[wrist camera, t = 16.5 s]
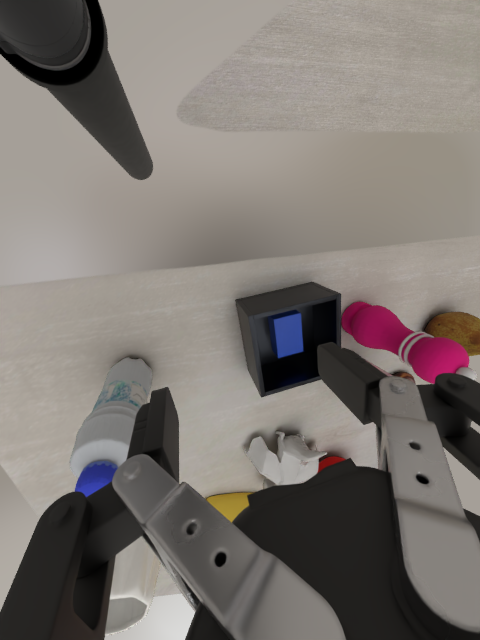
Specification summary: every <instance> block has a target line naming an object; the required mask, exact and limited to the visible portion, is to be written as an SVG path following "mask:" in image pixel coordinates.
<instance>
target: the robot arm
mask: <svg viewBox="0 0 480 640" xmlns="http://www.w3.org/2000/svg"><path fill="white" fill-rule="evenodd" d="M90 39H91V21H90V15H89V11H88V7H87V4H86V1H85V0H0V47H1V48H2V49H3V50H4V51H5V52H6V53H7V54H18V55H20V56H21V57H22V58H24V59H25V60H27V61H28V62H30V63H32V64H34V65H36V66H38V67H41V68H44V69H48V70H54V71H60V70H66V69H69V68H72V67H74V66H75V65H77V64H78V63H79V62H80V61H81V60H82V59H83V57H84V56H85V54H86V52H87V50H88V48H89V44H90ZM317 356H318V372H319V375H320V377H321V379H322V380H323V382H324V383H325V384H326V385H327V386H328V387H329V388H330V389H331V390H332V391H333V392H334V393H335V395H336V396H337V397H338V398H339V399H340V400H341V401H342V402H343V403H344V404H345V405H346V406H347V407H348V408H349V410H350V411H351V412H352V413H353V414H354V415H355V416H356V417H357V418H358V419H359V420H360V421H361V422H362V424H363V425H365V424H368V423H371V422H374V423H375V424H376V440H377V455H378V469H376V468H371V467H362V466H356V465H355V464H354V462H353V461H352V460H351V458H349V459H346V460H343V461H341V462H338V463H335V464H332V465H329V466H327V467H325V468H324V469H322V470H321V471H320V472H318V473H317V474H316V475H314V476H313V477H312V478H310V479H309V480H308V481H306V482H305V483H301V484H289V485H276V486H271V487H269V488H266V489H263V490H260V491H258V492H255V493H252V494H249V495H247V498H248V502H249V506H247V507H246V508H245V509H243V510H242V511H241V512H240V513H239V514H238V515H237V517H236V518H235V519H234V520H233V521H232V522H230V521H229V520H228V519H227V518H226V517H225V516H224V515H222V514H221V513H220V512H219V511H218V510H217V509H216V508H215V507H213V506H212V505H211V504H210V503H209V502H208V501H207V500H206V499H204V498H203V497H202V496H201V495H200V494H199V493H198V492H197V491H195V490H194V489H193V488H192V487H191V486H190V485H189V484H187V483H186V482H182V483H181V484H179V420H178V415H177V411H176V408H175V405H174V402H173V399H172V396H171V393H170V391H169V388H168V387H165V388H162V389H158V390H154V391H152V393H151V399H150V403H147V404H143V405H142V406H141V408H140V409H139V411H138V412H137V414H136V418H135V424H134V427H133V432H132V436H131V441H130V445H129V450H128V455H127V459H126V461H125V462H123V463H122V464H121V465H120V466H119V468H118V469H117V470H116V472H115V474H114V476H113V479H112V481H111V482H110V483H108V484H107V485H105V486H104V487H102V488H101V489H99V490H97V491H96V492H94V493H92V494H91V495H89V496H87V497H86V496H85V495H84V494H83V493H82V492H78V491H76V492H71V493H68V494H66V495H64V496H62V497H61V498H59V499H58V500H56V501H55V502H54V503H53V504H52V505H51V506H49V507H48V509H47V510H46V511H45V512H44V513H43V515H42V516H41V518H40V519H39V522H38V524H37V526H36V528H35V531H34V533H33V535H32V538H31V540H30V542H29V545H28V547H27V550H26V552H25V554H24V557H23V559H22V562H21V564H20V566H19V569H18V571H17V573H16V576H15V578H14V581H13V583H12V585H11V588H10V590H9V592H8V595H7V597H6V600H5V602H4V605H3V607H2V609H1V612H0V640H104V637H105V630H106V623H107V616H108V608H109V601H110V594H111V587H112V580H113V572H114V565H115V558H116V555H117V554H118V553H119V552H121V551H122V550H123V549H125V548H126V547H127V546H129V545H130V544H131V543H133V542H134V541H135V540H137V539H138V538H140V537H142V538H143V539H144V541H145V542H146V543H147V545H148V546H149V547H150V549H151V550H152V552H153V553H154V554H155V556H156V557H157V558H158V560H159V561H160V562H161V564H162V565H163V566H164V568H165V569H166V571H167V572H168V573H169V575H170V576H171V578H172V579H173V581H174V582H175V584H176V586H177V587H178V589H179V590H180V591H181V593H182V594H183V596H184V597H185V598H186V600H187V601H188V603H189V604H190V605H191V607H192V608H193V610H194V611H195V615H194V618H193V620H192V623H191V625H190V628H189V631H188V633H187V636H186V639H185V640H480V516H478V515H476V514H474V513H472V512H470V511H468V510H465V509H463V508H462V504H461V501H460V498H459V495H458V492H457V489H456V486H455V483H454V480H453V477H452V474H451V471H450V467H449V464H448V462H447V458H446V455H445V452H444V449H443V447H444V448H445V449H446V450H447V451H448V452H449V453H451V454H452V455H453V456H454V457H455V458H456V459H457V460H458V461H459V462H461V463H462V464H463V465H464V466H465V467H466V468H467V469H468V470H469V471H471V472H472V473H473V474H474V475H475V476H476V477H477V478H478V479H479V480H480V434H479V433H478V432H477V431H475V430H474V429H473V428H471V427H470V425H471V422H472V421H474V422H475V423H476V424H478V425H479V426H480V383H478V382H476V381H474V380H473V379H471V378H469V377H466V376H463V375H460V374H455V373H442V374H439V375H437V376H436V378H435V383H434V384H428V385H415V384H414V383H413V382H412V381H410V380H408V379H406V378H402V377H397V376H387V375H386V374H384V373H383V372H381V371H380V370H379V369H377V368H376V367H374V366H373V365H372V364H370V363H369V362H367V361H366V360H365V359H363V358H361V356H359V355H358V354H356V353H355V352H354V351H351V350H348V349H345V348H342V349H341V348H340V347H339V346H338V345H336V344H335V343H333V342H329V343H326V344H322V345H319V346H318V347H317Z"/></svg>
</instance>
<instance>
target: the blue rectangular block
mask: <svg viewBox="0 0 480 640" xmlns="http://www.w3.org/2000/svg"><path fill="white" fill-rule="evenodd" d="M268 322H269V330H270V338H271V346H272V351H273V352H274V353H275V355H276V356H277V357H278V358H281V357H285V356H288V355H292V354H296V353H299V352H303V338H302V323H301V313H300V312H299V311H297V310H291V311H287V312H283V313H279V314H275V315H271V316H268Z"/></svg>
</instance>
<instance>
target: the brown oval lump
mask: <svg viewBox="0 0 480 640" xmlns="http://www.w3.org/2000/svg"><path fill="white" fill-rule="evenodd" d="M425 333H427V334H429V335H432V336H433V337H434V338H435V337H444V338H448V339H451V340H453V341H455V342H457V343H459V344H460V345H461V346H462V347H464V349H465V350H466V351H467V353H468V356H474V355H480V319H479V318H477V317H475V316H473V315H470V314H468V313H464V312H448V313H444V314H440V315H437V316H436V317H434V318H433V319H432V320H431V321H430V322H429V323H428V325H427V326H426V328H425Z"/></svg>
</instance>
